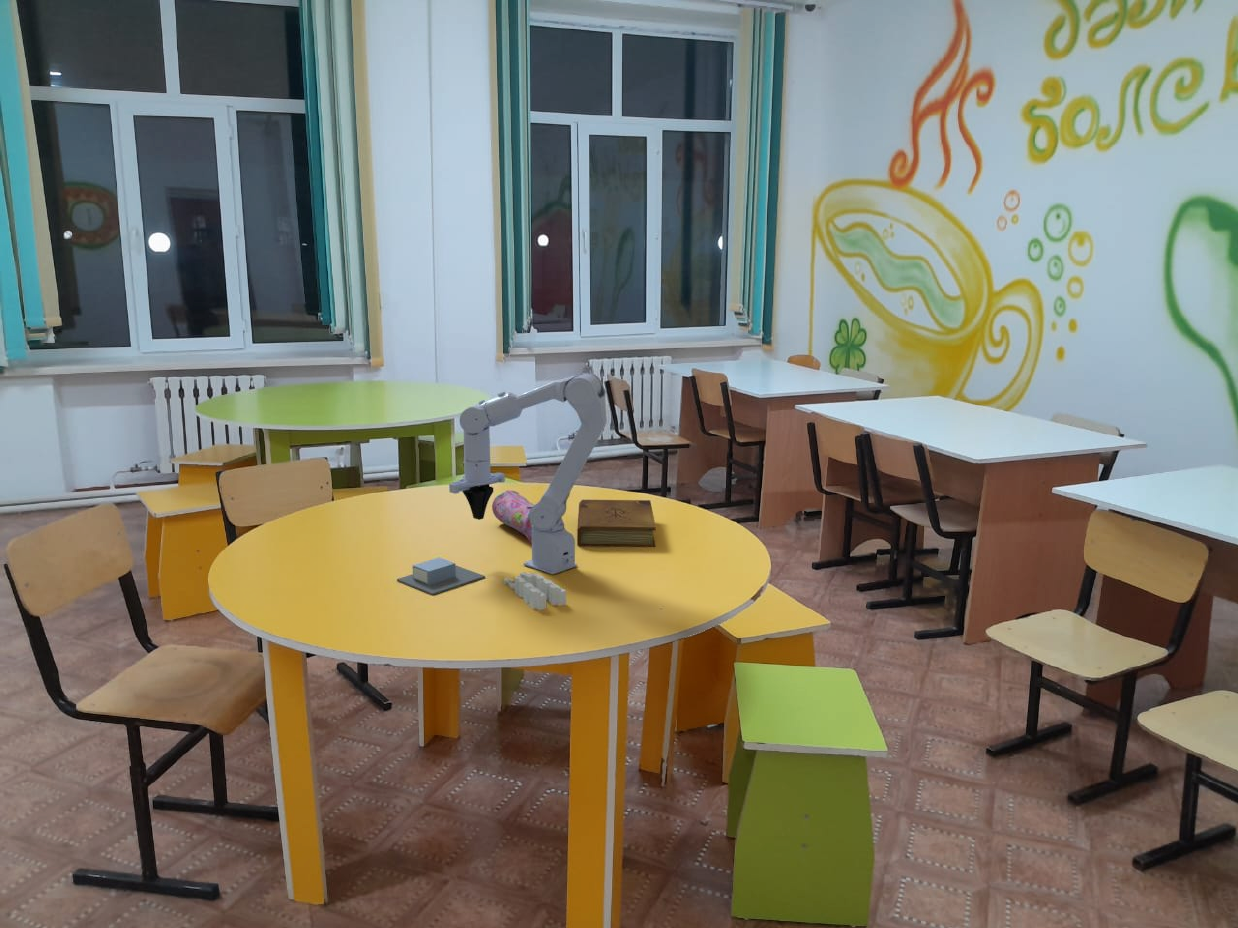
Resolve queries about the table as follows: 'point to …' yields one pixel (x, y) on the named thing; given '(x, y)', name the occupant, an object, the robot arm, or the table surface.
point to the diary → (615, 523)
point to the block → (434, 571)
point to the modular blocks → (537, 590)
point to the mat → (461, 579)
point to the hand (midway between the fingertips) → (478, 518)
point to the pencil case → (514, 511)
